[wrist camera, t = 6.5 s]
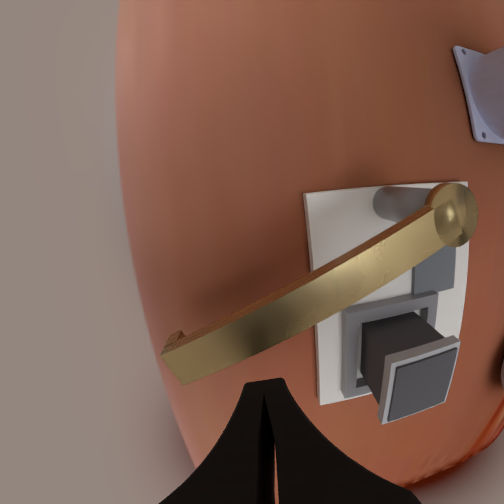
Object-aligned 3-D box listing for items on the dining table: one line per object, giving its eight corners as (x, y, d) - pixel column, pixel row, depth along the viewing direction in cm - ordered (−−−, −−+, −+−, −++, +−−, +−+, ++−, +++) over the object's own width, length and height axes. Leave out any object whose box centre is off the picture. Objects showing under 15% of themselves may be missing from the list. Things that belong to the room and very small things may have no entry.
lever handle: (459, 223, 12) (483, 229, 10) (195, 370, 13) (189, 393, 11) (443, 173, 11) (467, 173, 9) (163, 325, 12) (152, 346, 11)
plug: (417, 306, 18) (462, 342, 12) (411, 360, 19) (446, 403, 13) (357, 319, 18) (392, 365, 13) (355, 375, 19) (382, 426, 14)
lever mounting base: (459, 181, 17) (526, 186, 10) (446, 360, 20) (489, 404, 14) (302, 193, 17) (336, 198, 10) (317, 397, 20) (337, 462, 14)
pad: (452, 236, 17) (456, 237, 16) (450, 286, 18) (453, 287, 17) (412, 243, 17) (415, 244, 16) (411, 295, 18) (414, 297, 17)
